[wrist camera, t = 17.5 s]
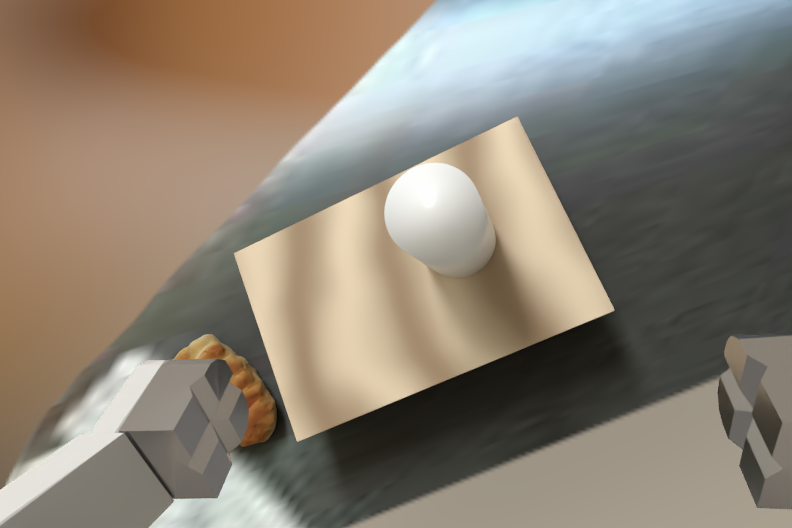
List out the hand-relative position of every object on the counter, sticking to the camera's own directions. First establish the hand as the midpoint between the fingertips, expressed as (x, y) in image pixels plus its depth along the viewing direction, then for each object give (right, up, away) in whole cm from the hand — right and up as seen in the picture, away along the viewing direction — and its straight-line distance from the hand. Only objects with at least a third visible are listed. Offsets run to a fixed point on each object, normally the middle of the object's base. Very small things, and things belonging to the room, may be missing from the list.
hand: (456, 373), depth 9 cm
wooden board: (+1, 0, +32) cm, 33 cm away
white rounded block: (+3, +3, +27) cm, 28 cm away
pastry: (-14, -8, +35) cm, 39 cm away
